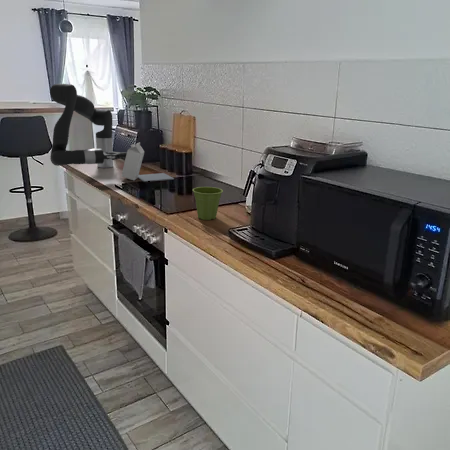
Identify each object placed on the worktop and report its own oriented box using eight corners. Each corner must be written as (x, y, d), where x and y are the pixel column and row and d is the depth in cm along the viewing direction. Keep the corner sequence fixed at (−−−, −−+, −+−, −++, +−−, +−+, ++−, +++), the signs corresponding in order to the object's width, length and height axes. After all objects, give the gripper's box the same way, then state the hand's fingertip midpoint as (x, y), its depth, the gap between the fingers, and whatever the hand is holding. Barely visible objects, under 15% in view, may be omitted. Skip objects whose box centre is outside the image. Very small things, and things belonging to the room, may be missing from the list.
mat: (134, 176, 242) (134, 175, 242) (164, 174, 250) (164, 173, 250) (143, 182, 230) (143, 180, 229) (174, 179, 238) (174, 178, 237)
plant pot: (225, 221, 171) (226, 193, 167) (195, 223, 168) (196, 194, 164) (217, 212, 182) (218, 185, 178) (189, 214, 178) (189, 186, 175)
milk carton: (137, 178, 238) (146, 144, 232) (133, 180, 231) (142, 146, 225) (125, 173, 238) (133, 140, 232) (121, 176, 231) (129, 141, 225)
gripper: (95, 150, 216) (130, 149, 224) (89, 147, 227) (122, 145, 235) (96, 166, 218) (130, 164, 226) (90, 161, 229) (123, 159, 237)
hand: (126, 154), depth 230 cm, fingers closed
